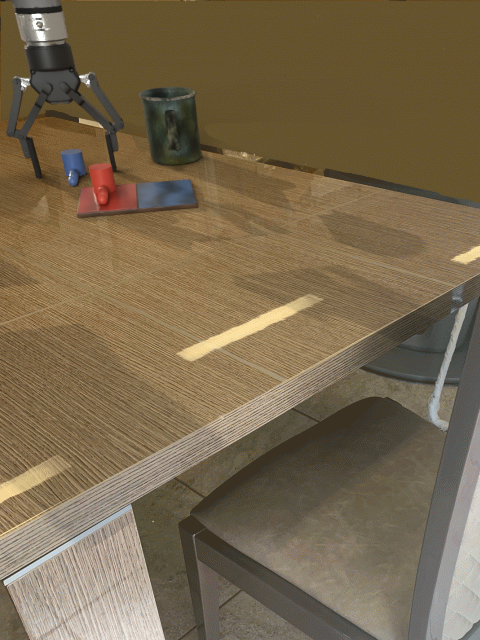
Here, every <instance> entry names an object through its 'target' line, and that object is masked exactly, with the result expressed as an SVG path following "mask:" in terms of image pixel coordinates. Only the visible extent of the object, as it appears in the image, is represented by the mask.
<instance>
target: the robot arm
mask: <svg viewBox="0 0 480 640" xmlns="http://www.w3.org/2000/svg"><path fill="white" fill-rule="evenodd" d="M0 2H1V3H3V2H11V3H12V7H13V11H14V15H15V19H16V22H17V27H18V31H19V34H20V39H21V40H22V41H23V43H24V42H25V44H24V47H23V50H24V55H25V59H26V62H27V66H28V70H29V77H21V76H19V75H15V76H14V77H13V78H12V82H11V83H12V87H13V89H12V90H13V96H12V101H11V105H10V106H11V107H10V112H9V116H8V120H7V121H8V122H7V126H6V132H5V134H6V136H7V137H9V138H14V139H17V140H18V141H19V143H20V146H21V151H22V154H23V156H24V158H25V159H30V160H31V164H32V167H33V171H34V175H35V178H36V179H41V178H42V176H43V172H42V168H41V164H40V161H39V157H38V154H37V153H38V152H37V150H36V145H35V142H34V139H33V136H28V135H29V132H30V131H31V128H32V127H33V125H34V123H35V122H36V119H37V118H38V115H39V113H40V111H41V110H42V108H43V106H44V104H45V103H47V104H50V105H51V106H55V105H59V104H64V105H69V104H71V103H72V102H74V103H76V104H77V105H78V106H79V107H81V109H82V110H84V111H85V112H86V113H87V114H88V115H89V116H90V117H91V118H93V120H95V121H96V122H97V123H98V124H99V125H100V126H101V127H102V128H103V129H105V131H104V138H105V142H106V147H107V148H106V149H107V152H108V158H109V162H110V163H109V164H110V165H112V170H113V173H117V168H118V167H117V162H116V159H115V152H119V148H120V147H119V141H118V136H117V132H118V131H120V130H124V128H125V121H124V119H123V118H122V117H121V115H120V114H119V112H118V111H117V110H116V108H115V107H114V105H113V103H112V102H111V101H110V99H109V98H108V96H107V95H106V93H105V91H104V90H103V88H102V87H101V86H100V84H99V80H98V78H97V74H96V73H95V72H94V71H89V73H84V74H79V72H77V67H76V64H75V59H74V55H73V50H72V45H71V44H70V43H69V42H67V40H68V39H69V38H70V36H69V32H68V27H67V23H66V17H65V12H64V10H63V6H62V0H0ZM82 83H83V84H85V86H86V88H88V89H91V90H92V92H93V93H94V95H95V97H96V98H97V100H98V101H99V102H100V104H101V105H102V107H103V108H104V109H105V111H106V113H107V114H108V115H109V117H110V119H111V120H112V121H110V120H109V119H108V118H107V117H106V116H105V115H104V114H103V113H102V112H101V111H99V109H97V108H96V107H95V106H94V105H93V104H92V103H91V102H90V101H89V100H88V99H87V98H86V96H84V95H83V94H82V93H81V92H80V91H79V88H80V86H81V84H82ZM29 86H30V87H31V89H33V90H34V91H35V93H36V94H38V97H37V98H36V99H35V102H34V104H33V106H32V108H31V110H30V111H29V113H28V115H27V117H26V118H25V121H24V123H23V125H22V127H21V129H18V128H17V126H18V121H19V116H20V112H21V111H20V110H21V106H22V101H23V96H24V92H26V91H27V90H28V87H29ZM112 122H113V123H112Z"/></svg>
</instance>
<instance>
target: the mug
mask: <svg viewBox="0 0 480 640" xmlns="http://www.w3.org/2000/svg"><path fill="white" fill-rule="evenodd" d="M197 94H198V93H197V90H195V89H193V88H190V87H184V86H163V87H161V86H160V87H155V88H154V87H153V88H149V89H145V90H142V91H140V92H139V93H138V97H139V99H141V106H142V112H143V117H144V118H143V119H144V124H145V130H146V135H147V142H148V143H147V144H148V148H149V154H150V155H149V156H150V158H151V160H152V161H153V162H154V163H157V164H162V165H173V166H174V165H185V164H190V163H193V162H196V161H198V160H199V159H200V158H201V156H202V146H201V139H200V138H201V137H200V129H199V122H198V121H199V119H198V112H197V111H198V110H197V102H196V96H197Z"/></svg>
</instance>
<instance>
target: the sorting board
mask: <svg viewBox="0 0 480 640" xmlns="http://www.w3.org/2000/svg"><path fill="white" fill-rule="evenodd" d="M115 185H116V191H115V192H112V193H108V202H107V203H106V204H105V205H101V204H100V203H99V202H98V200H97V198H98V194H97V193H94V191H93V186H87V187H81V188H80V191H79V199H78V205H77V212H76V217H77V218H78V219H80V218H91V217H105V216H114V215H127V214H128V215H129V214H136V213H138V214H139V213H150V212H161V211H172V210H173V211H174V210H185V209H196V208H199V205H198V201H197V198H196V194H195V190H194V187H193V184H192V181H191V178H188V179H175V180H165V181H164V180H162V181H151V182H150V181H149V182H138V183H137V182H136V183H125V184H124V183H123V184H115Z"/></svg>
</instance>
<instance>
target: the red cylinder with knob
mask: <svg viewBox="0 0 480 640" xmlns="http://www.w3.org/2000/svg"><path fill="white" fill-rule="evenodd" d="M88 172H89V177H90V181H91V187H93V191H94V193H97V194H98V198H97V200H98V202H99V203H100V204H101V205H105V204H106V203H107V202H108V193H112V192H115V191H116V185H117V184H116V180H115V175H114V172H113V170H112V165H111V163H105V162H104V163H103V162H102V163H94V164H91V165H89V166H88Z"/></svg>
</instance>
